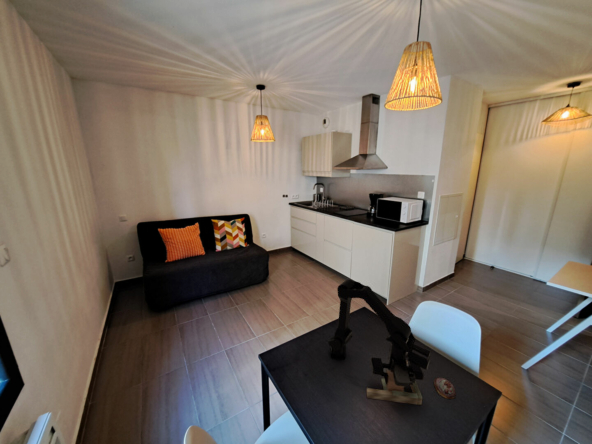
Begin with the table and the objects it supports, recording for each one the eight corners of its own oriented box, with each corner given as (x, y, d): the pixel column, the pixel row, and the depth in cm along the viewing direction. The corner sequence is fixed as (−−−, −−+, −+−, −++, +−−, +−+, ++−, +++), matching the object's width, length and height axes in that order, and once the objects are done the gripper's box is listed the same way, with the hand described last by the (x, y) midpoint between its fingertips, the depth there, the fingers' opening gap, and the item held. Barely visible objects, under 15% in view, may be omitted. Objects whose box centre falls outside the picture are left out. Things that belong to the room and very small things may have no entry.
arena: (367, 397, 87) (367, 390, 87) (361, 360, 104) (361, 354, 103) (421, 404, 85) (422, 398, 84) (406, 365, 101) (407, 359, 100)
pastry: (447, 402, 86) (449, 392, 84) (429, 385, 92) (430, 376, 91) (460, 394, 89) (462, 384, 87) (441, 378, 95) (443, 369, 94)
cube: (388, 392, 88) (389, 381, 87) (384, 379, 94) (386, 368, 92) (402, 393, 88) (404, 383, 86) (398, 380, 93) (400, 370, 91)
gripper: (377, 368, 80) (373, 401, 84) (433, 375, 77) (426, 408, 81) (371, 344, 91) (368, 374, 95) (420, 349, 88) (415, 380, 92)
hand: (393, 384), depth 90 cm, fingers closed on cube, 5 cm apart
